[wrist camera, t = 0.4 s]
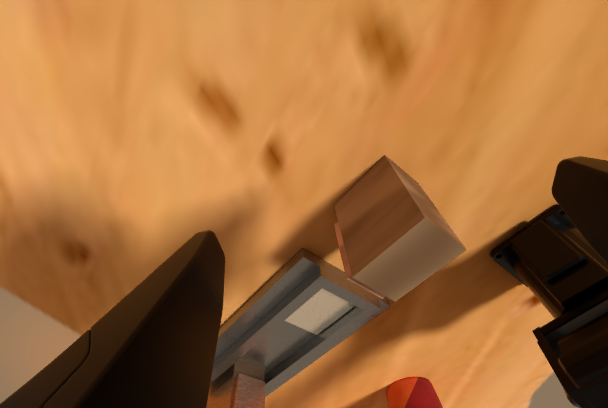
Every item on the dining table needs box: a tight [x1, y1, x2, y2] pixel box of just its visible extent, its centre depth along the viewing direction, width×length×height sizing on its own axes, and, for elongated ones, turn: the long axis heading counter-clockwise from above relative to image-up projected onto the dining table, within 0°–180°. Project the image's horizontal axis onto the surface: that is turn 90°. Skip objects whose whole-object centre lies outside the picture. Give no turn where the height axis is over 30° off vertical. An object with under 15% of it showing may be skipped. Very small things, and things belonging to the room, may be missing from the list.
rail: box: [206, 248, 390, 408], centre depth 28 cm, size 10×20×8 cm, turn 140°
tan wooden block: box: [334, 155, 466, 302], centre depth 20 cm, size 4×6×7 cm, turn 140°
